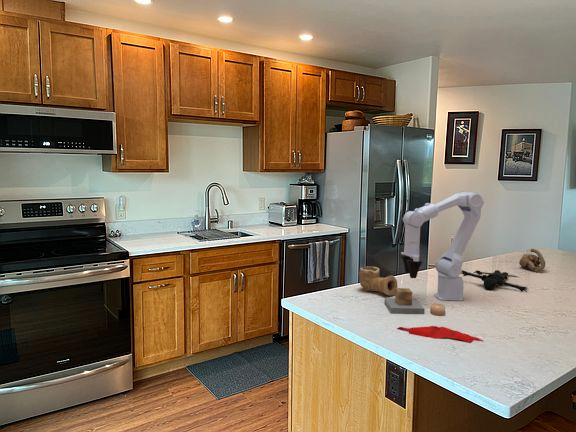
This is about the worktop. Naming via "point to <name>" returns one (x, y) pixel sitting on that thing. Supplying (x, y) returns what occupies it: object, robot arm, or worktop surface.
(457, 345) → the worktop surface
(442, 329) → the cloth
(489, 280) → the toy
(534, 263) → the tan lumpy piece
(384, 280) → the pipe
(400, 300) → the walnut cube
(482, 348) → the worktop surface
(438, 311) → the terracotta puck
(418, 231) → the robot arm
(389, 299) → the slate base
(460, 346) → the worktop surface
